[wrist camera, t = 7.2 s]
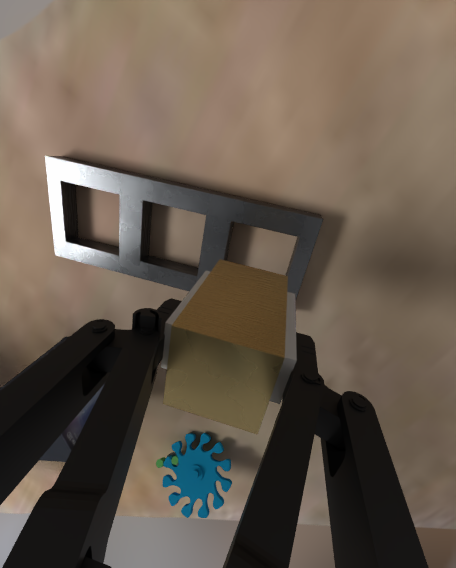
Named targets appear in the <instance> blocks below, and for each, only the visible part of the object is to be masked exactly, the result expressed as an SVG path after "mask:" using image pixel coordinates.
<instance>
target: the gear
mask: <svg viewBox="0 0 456 568" xmlns="http://www.w3.org/2000/svg"><path fill="white" fill-rule="evenodd" d="M195 438H196V435H195V434H193V433H189V434H186V436H185V439H186V442H187V449H186V453H185V455H183V454H182V453H181V449H182V442H181V441H178V442H176V443H174V444H173V445H172V449H173V451H175V452H173V453H170V454H169V455H168V456H167V458H165V457H163V458H161V459H159V460H157V462H156V465H157V467H158V468H160V467H162V466H165V467H167V468H170V469H172V470H173V471H174V472H175V474H176V475H177V479H176V480H174V479H173V478H172V476H171V475H166V476H164V478H163V487H168V486H170V485H175V486H178V487H180V489H181V494H178V493H176V492H174V493H172V494H171V495H170V496H169V501H170V504H171V506H174V505H175V504H176V503H178V501H179V499H180V498H182V497H185V496H188V497H189V498H190V503H189V504H186V505H185V506H184V507H183V508H182V510H181V512H182V514H183V515H184V516H185V517H187V518H188V517H189V516H190V515H191V514H192V511H193V505H194V503H195V501H196V500H197V499H198V498H199V499H201V500H202V502H203V505H202V507H201V508H200V509H199V511H198V516H199V517H201V518H207V516H208V515H209V508H208V504H207V498H208V494H209V493H212V494H213V495H214V501H213V507H214V508H215V509H218V508H220V507H221V506H222V505H223V504H224V499H223V498H222V497H221V496H220V495H219V493H218V491H217V488H216V481H220V482H221V485H222V489H223V491H225V492H227V491H228V490H229V488H230V487H231V484H232V481H231V480H230V479H227V478H224V477H222V476H221V475H220V474H219V473H218V471H217V466H221V467H222V468H223V470H224V471H229V470H230V469H231V460H230V459H225V460H223V461H218V460H215V459H213V458H212V453H213V452H215V453H218V454H219V453H221V452H223V451H224V448H223V445H222V443H221V442H218V443H216V444H215V446H214V447H213V448H212V449H211V450H209V451H204V450H203V444H205V443H208V442H209V441H210V440H211V437H210V435H208V434H207V433H203V434H202V435H201V440H200V443H199V445H198V447H197V448H196V449H193V448H192V446H191V445H192V442H193V441H194V440H195Z"/></svg>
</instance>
